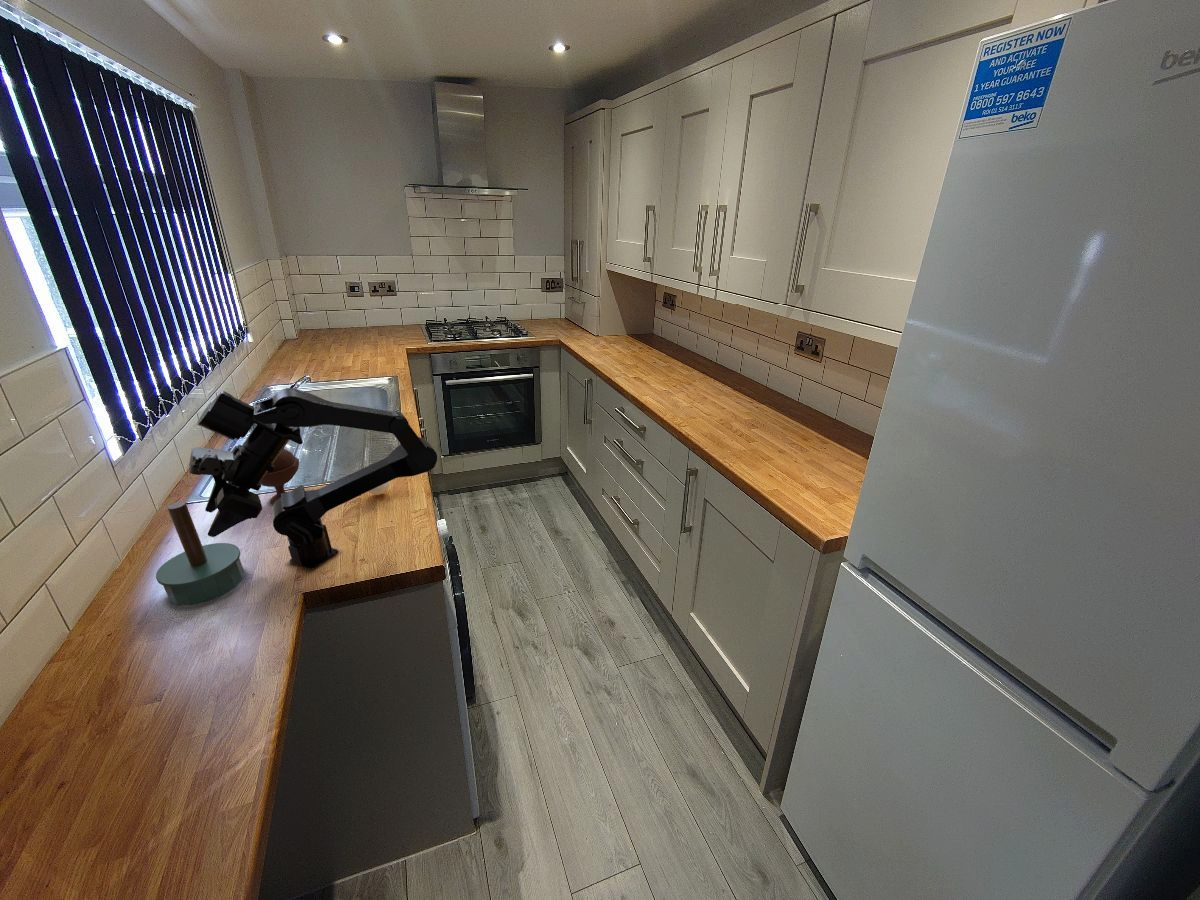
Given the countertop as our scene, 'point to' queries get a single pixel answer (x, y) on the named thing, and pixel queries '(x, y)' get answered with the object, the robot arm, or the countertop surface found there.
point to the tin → (207, 587)
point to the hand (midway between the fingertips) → (209, 523)
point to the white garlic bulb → (380, 489)
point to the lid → (194, 554)
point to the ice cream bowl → (281, 473)
